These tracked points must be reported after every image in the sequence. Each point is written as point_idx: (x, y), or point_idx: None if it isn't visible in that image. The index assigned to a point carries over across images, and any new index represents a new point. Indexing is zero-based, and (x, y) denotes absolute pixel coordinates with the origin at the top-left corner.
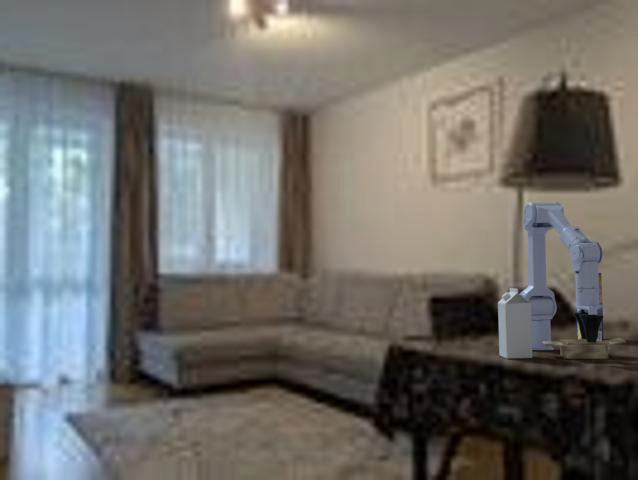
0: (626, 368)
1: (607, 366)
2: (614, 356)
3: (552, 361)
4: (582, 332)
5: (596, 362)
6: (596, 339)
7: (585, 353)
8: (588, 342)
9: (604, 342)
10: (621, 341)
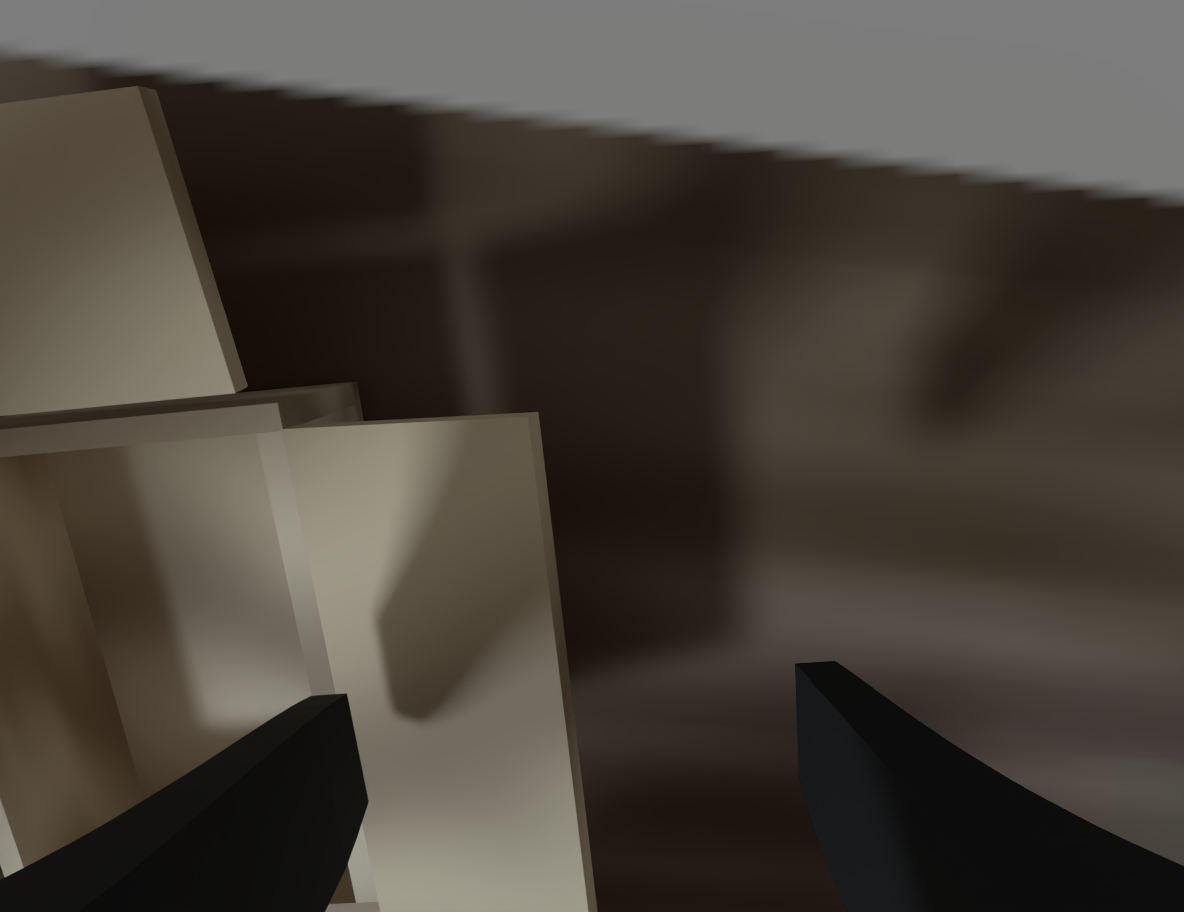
0: (1103, 258)
1: (947, 447)
2: None
3: (627, 908)
4: (313, 890)
5: (643, 528)
6: (860, 680)
7: None
8: (571, 722)
9: (547, 495)
10: (122, 170)
